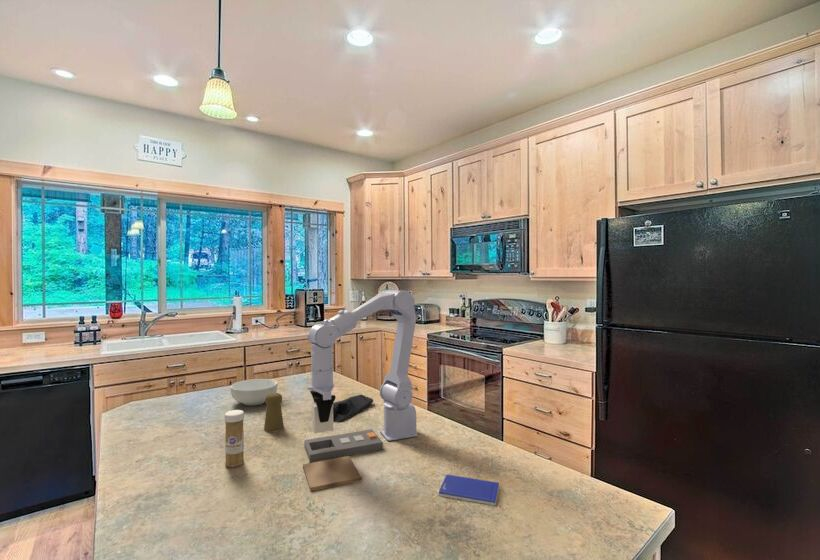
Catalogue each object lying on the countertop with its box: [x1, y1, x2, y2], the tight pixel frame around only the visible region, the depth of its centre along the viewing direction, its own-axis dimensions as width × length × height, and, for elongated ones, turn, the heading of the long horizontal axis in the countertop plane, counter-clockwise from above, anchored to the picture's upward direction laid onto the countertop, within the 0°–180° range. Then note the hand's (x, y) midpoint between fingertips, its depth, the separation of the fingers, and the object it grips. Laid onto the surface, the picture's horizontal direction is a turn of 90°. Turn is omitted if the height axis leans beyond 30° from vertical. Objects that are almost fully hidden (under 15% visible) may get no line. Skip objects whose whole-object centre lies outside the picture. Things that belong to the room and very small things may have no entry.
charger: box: [311, 401, 334, 434], centre depth 109 cm, size 5×4×8 cm
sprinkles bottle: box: [224, 409, 245, 468], centre depth 104 cm, size 5×5×14 cm
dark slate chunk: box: [333, 394, 374, 423], centre depth 144 cm, size 15×22×5 cm
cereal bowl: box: [230, 378, 278, 406], centre depth 153 cm, size 17×17×7 cm
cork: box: [263, 392, 285, 433], centre depth 127 cm, size 6×6×11 cm
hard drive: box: [438, 474, 500, 506], centre depth 91 cm, size 2×8×12 cm
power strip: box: [304, 429, 384, 463], centre depth 113 cm, size 20×10×3 cm, turn 113°
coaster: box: [302, 455, 363, 492], centre depth 98 cm, size 12×12×1 cm
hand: (322, 418), depth 109 cm, fingers closed on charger, 4 cm apart
